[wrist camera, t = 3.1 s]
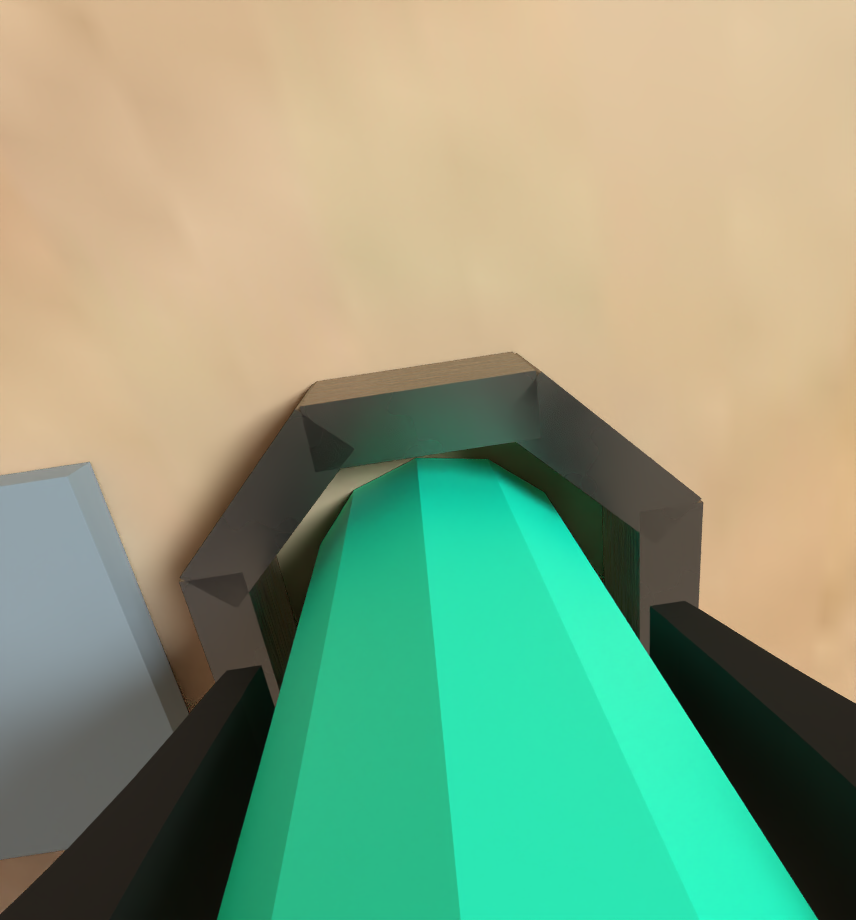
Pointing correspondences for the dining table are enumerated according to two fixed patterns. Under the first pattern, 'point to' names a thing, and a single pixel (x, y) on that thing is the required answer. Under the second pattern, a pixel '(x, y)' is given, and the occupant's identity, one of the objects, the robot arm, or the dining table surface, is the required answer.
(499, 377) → the collar
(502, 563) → the candle
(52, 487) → the mat
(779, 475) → the dining table surface
